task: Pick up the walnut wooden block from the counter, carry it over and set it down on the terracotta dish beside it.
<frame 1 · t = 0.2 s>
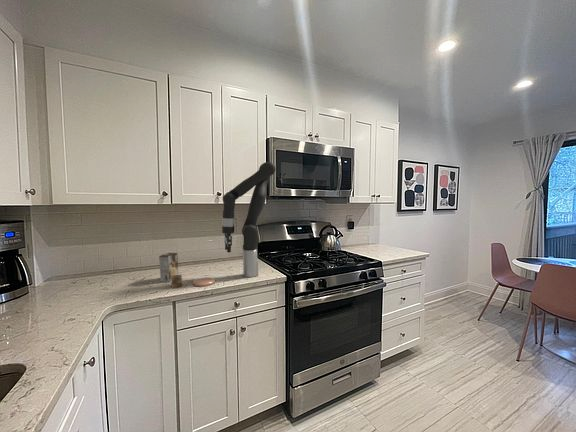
hand: (227, 250, 161), 17 cm above the countertop, tool pointing down, fingers open, 8 cm apart
coffee box: (169, 279, 160), on the countertop
dish: (204, 283, 152), on the countertop
walnut block: (177, 286, 147), on the countertop
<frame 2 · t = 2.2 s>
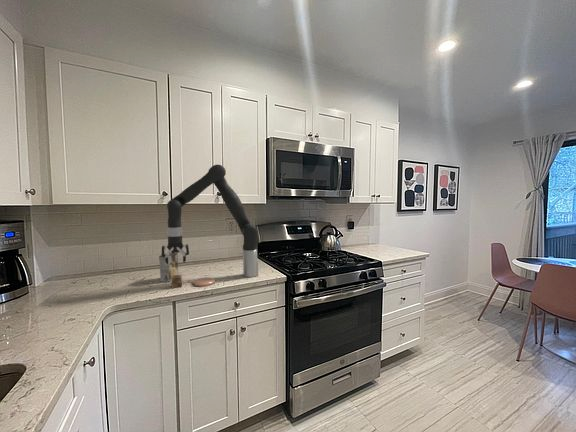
hand: (175, 262, 146), 14 cm above the countertop, tool pointing down, fingers open, 8 cm apart
nothing on the countertop moved.
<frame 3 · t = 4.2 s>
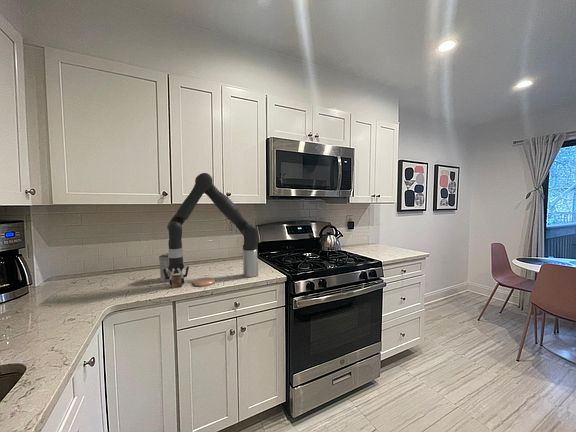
hand: (176, 284, 147), 1 cm above the countertop, tool pointing down, fingers closed on walnut block, 5 cm apart
walnut block: (177, 286, 147), on the countertop, touching gripper
everything else where it was.
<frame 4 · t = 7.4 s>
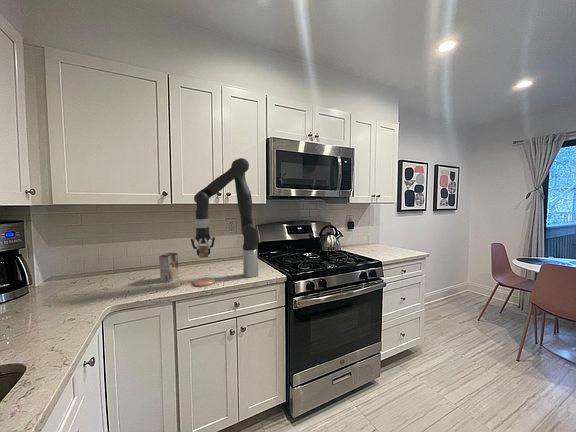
hand: (203, 254, 151), 17 cm above the countertop, tool pointing down, fingers closed on walnut block, 5 cm apart
walnut block: (203, 256, 151), point 16 cm above the countertop, touching gripper
everything else where it was.
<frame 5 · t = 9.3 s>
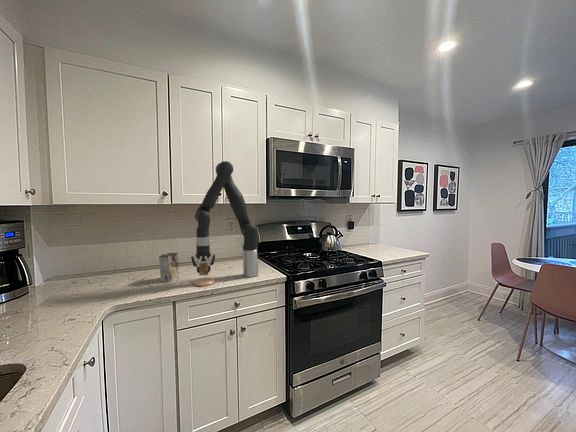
hand: (203, 272, 152), 7 cm above the countertop, tool pointing down, fingers closed on walnut block, 5 cm apart
walnut block: (203, 273, 152), point 6 cm above the countertop, touching gripper
everything else where it was.
when the fingers open (4 cm above the countertop, at t = 10.8 s): walnut block drops 1 cm, resting on dish.
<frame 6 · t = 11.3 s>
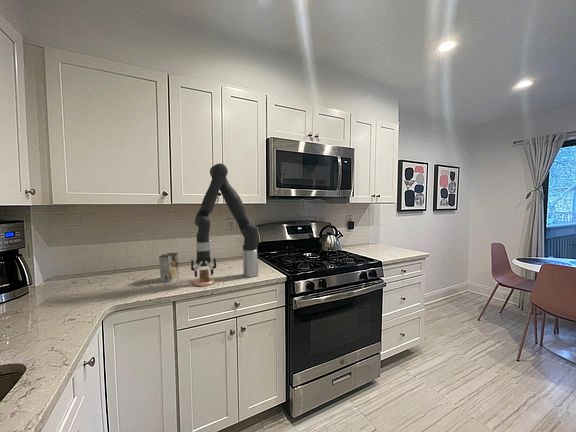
hand: (204, 276, 152), 4 cm above the countertop, tool pointing down, fingers open, 8 cm apart
walnut block: (204, 280, 152), point 1 cm above the countertop, touching dish
everything else where it was.
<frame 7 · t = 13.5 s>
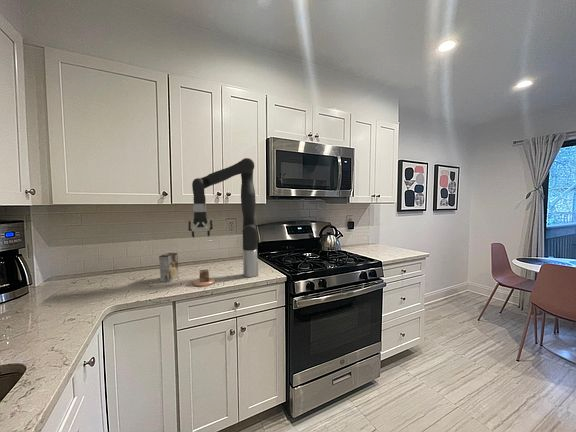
hand: (200, 236, 159), 26 cm above the countertop, tool pointing down, fingers open, 8 cm apart
nothing on the countertop moved.
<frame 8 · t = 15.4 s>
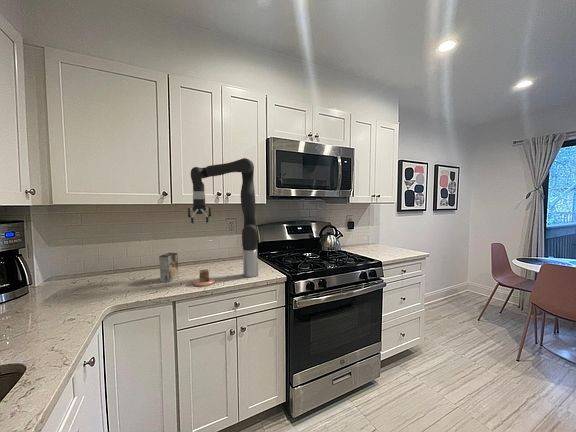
hand: (199, 223, 167), 34 cm above the countertop, tool pointing down, fingers open, 8 cm apart
nothing on the countertop moved.
at the end: walnut block inside the target area on the dish (0.0 cm from its centre), point 1.5 cm above the dish's base; walnut block tilted 0°; the gripper is holding nothing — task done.
